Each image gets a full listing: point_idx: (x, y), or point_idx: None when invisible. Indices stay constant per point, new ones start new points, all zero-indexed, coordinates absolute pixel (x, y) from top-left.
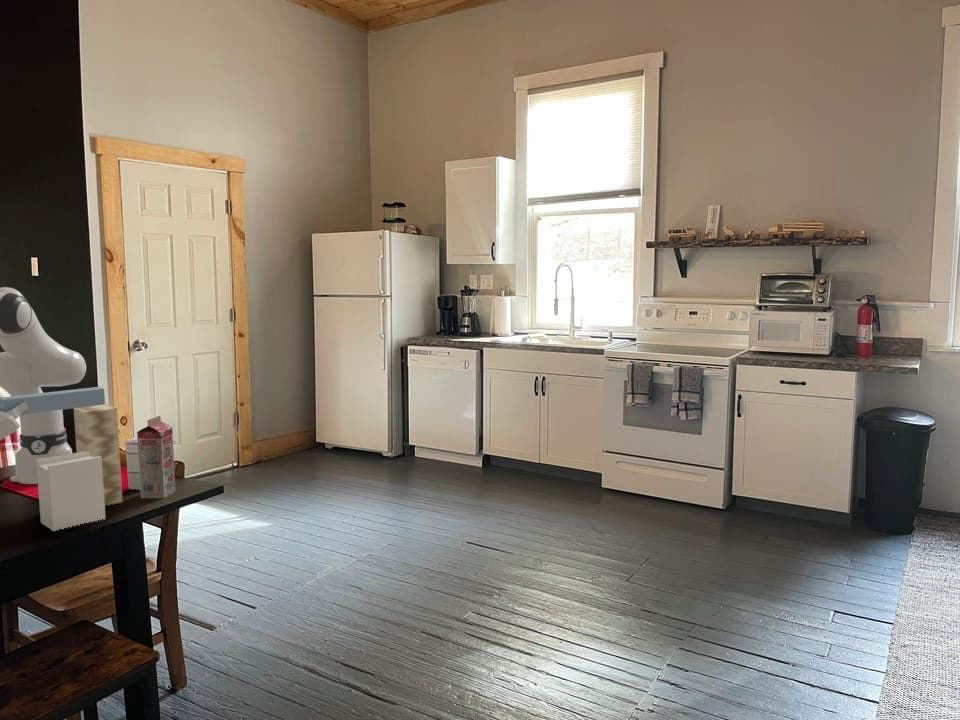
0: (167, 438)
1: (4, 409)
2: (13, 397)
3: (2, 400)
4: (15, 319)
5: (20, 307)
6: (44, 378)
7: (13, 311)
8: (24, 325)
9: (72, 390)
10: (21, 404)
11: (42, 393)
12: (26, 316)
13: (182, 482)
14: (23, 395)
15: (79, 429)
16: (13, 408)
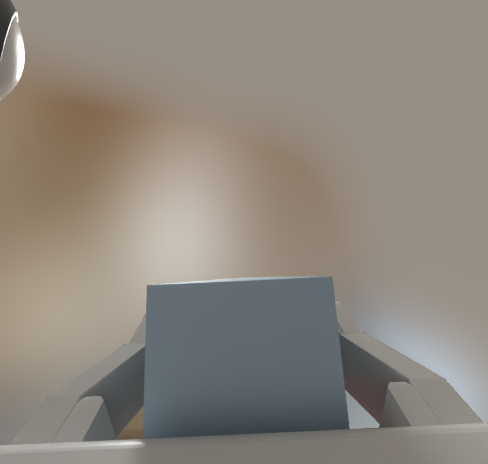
0: None
1: (339, 394)
2: (245, 279)
3: (282, 293)
4: (2, 36)
5: (17, 25)
6: None
7: (3, 7)
8: (3, 89)
9: (236, 278)
10: (347, 315)
11: (224, 279)
12: (22, 66)
13: None
14: (213, 280)
15: (136, 414)
16: (376, 355)
